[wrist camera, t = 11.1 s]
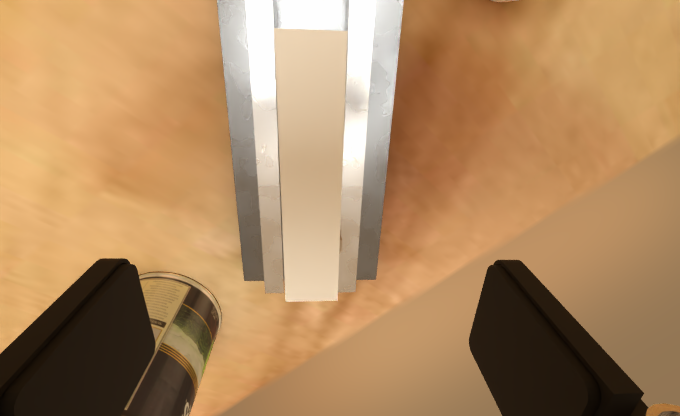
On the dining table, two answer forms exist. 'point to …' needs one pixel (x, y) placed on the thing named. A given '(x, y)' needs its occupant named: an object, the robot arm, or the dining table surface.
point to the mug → (503, 0)
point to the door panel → (311, 157)
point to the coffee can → (175, 344)
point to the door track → (262, 125)
